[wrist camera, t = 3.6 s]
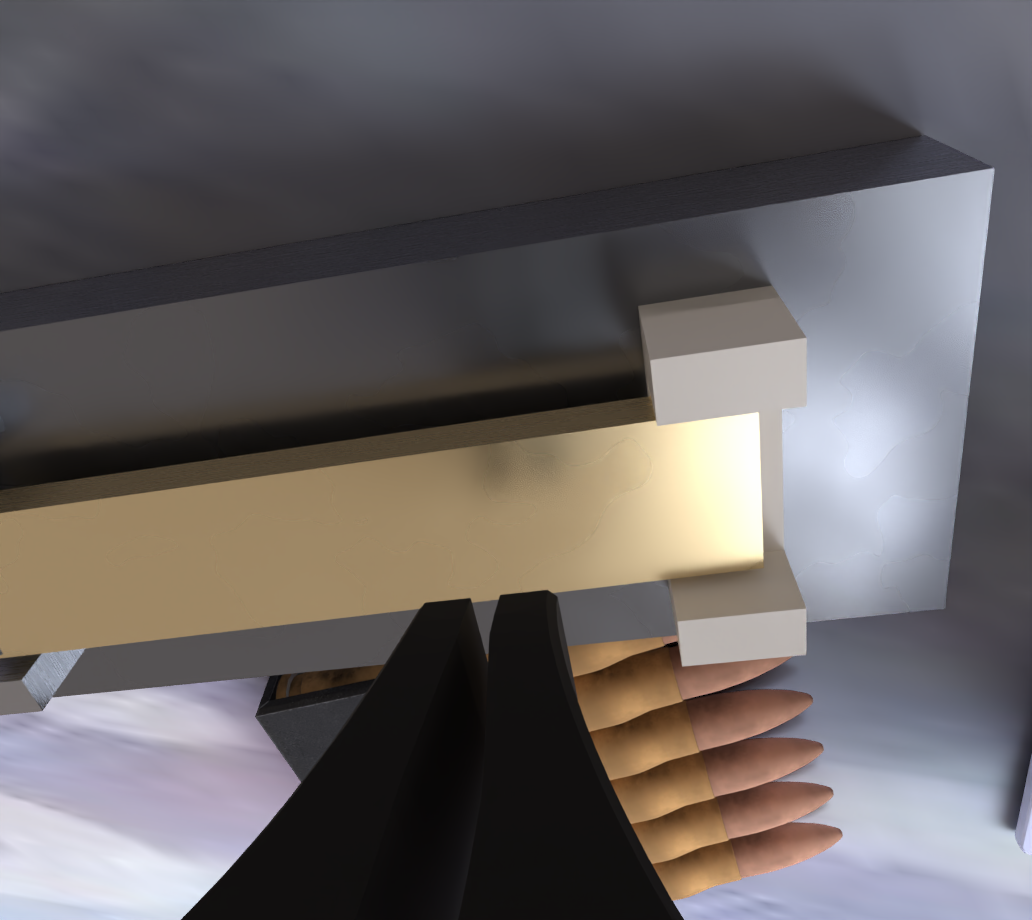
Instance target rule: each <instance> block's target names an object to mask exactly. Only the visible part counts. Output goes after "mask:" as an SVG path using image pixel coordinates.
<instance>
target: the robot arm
mask: <svg viewBox="0 0 1032 920" xmlns="http://www.w3.org/2000/svg"><path fill="white" fill-rule="evenodd" d="M1015 838H1016V841H1017V843H1018V844H1019V846H1020V848H1021V850H1022V851H1023V852H1024V853H1027V854H1030V855H1032V755H1031V760H1030V765H1029V770H1028V775H1027V779H1026V784H1025V789H1024V794H1023V799H1022V803H1021V808H1020V813H1019V818H1018V823H1017V828H1016V832H1015ZM181 920H684V919H683V917H682V916H681V914H680V912H679V911H678V909H677V908H676V906H675V904H674V903H673V901H672V899H671V897H670V896H669V894H668V892H667V890H666V888H665V887H664V885H663V883H662V881H661V879H660V878H659V876H658V874H657V872H656V870H655V869H654V867H653V865H652V863H651V861H650V860H649V858H648V856H647V854H646V852H645V850H644V848H643V846H642V844H641V843H640V841H639V839H638V837H637V835H636V833H635V831H634V829H633V827H632V825H631V823H630V821H629V819H628V817H627V815H626V813H625V811H624V809H623V807H622V805H621V803H620V801H619V799H618V797H617V795H616V792H615V790H614V788H613V786H612V784H611V782H610V780H609V777H608V775H607V773H606V770H605V768H604V766H603V764H602V761H601V759H600V757H599V754H598V752H597V750H596V748H595V745H594V743H593V740H592V738H591V735H590V733H589V730H588V728H587V725H586V722H585V720H584V717H583V714H582V711H581V708H580V706H579V703H578V698H577V692H576V687H575V682H574V677H573V672H572V667H571V662H570V657H569V652H568V647H567V642H566V637H565V632H564V627H563V622H562V617H561V611H560V606H559V601H558V596H556V595H555V594H553V593H552V592H550V591H549V590H541V591H532V592H522V593H512V594H503V595H500V597H499V600H498V604H497V607H496V610H495V613H494V617H493V622H492V626H491V630H490V634H489V652H488V661H487V657H486V653H485V650H484V646H483V642H482V638H481V635H480V631H479V627H478V623H477V620H476V616H475V612H474V608H473V605H472V601H471V598H465V599H455V600H445V601H436V602H426V603H424V604H423V606H422V607H421V608H420V609H419V610H418V612H417V614H416V615H415V617H414V618H413V620H412V622H411V623H410V625H409V626H408V628H407V630H406V631H405V633H404V634H403V636H402V638H401V639H400V641H399V642H398V644H397V646H396V647H395V649H394V650H393V652H392V654H391V655H390V657H389V658H388V660H387V661H386V663H385V665H384V666H383V668H382V669H381V671H380V672H379V674H378V675H377V677H376V678H375V680H374V682H373V683H372V685H371V686H370V688H369V689H368V691H367V692H366V693H365V695H364V696H363V698H362V699H361V701H360V702H359V704H358V705H357V707H356V708H355V710H354V711H353V712H352V714H351V715H350V717H349V718H348V720H347V721H346V723H345V724H344V726H343V727H342V729H341V730H340V731H339V733H338V734H337V736H336V737H335V738H334V740H333V741H332V743H331V744H330V745H329V747H328V748H327V749H326V751H325V752H324V753H323V755H322V756H321V757H320V759H319V760H318V761H317V763H316V764H315V765H314V766H313V768H312V769H311V770H310V772H309V773H308V774H307V776H306V777H305V778H304V780H303V781H302V782H301V784H300V785H299V786H298V788H297V789H296V790H295V792H294V793H293V794H292V796H291V797H290V798H289V799H288V801H287V802H286V803H285V804H284V805H283V807H282V808H281V809H280V810H279V812H278V813H277V814H276V815H275V816H274V818H273V819H272V820H271V821H270V823H269V824H268V825H267V826H266V827H265V829H264V830H263V831H262V832H261V833H260V834H259V836H258V837H257V838H256V839H255V840H254V841H253V843H252V844H251V845H250V846H249V847H248V848H247V849H246V851H245V852H244V853H243V854H242V855H241V856H240V857H239V858H238V860H237V861H236V862H235V863H234V864H233V865H232V866H231V867H230V869H229V870H228V871H227V872H226V873H225V874H224V875H223V876H222V877H221V879H220V880H219V881H218V882H217V883H216V884H215V885H214V886H213V887H212V888H211V889H210V890H209V891H208V892H207V893H206V894H205V895H204V896H203V897H202V898H201V899H200V900H199V902H198V903H197V904H196V905H195V906H194V907H193V908H192V909H191V910H190V911H189V912H188V913H187V914H186V915H185V916H184V917H183V918H182V919H181Z"/></svg>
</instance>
